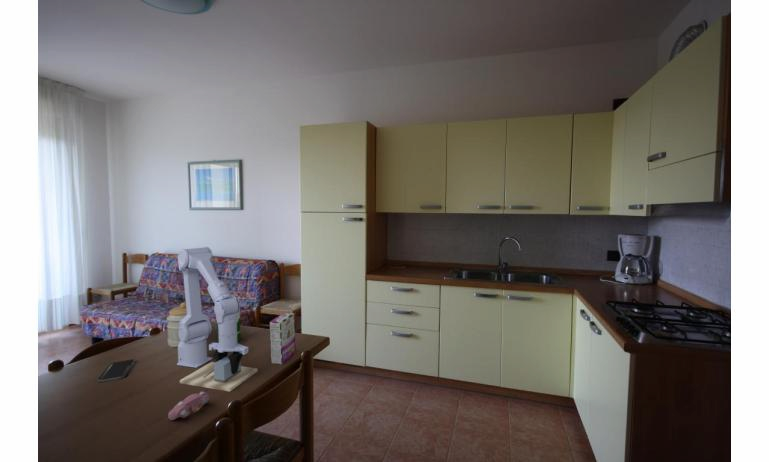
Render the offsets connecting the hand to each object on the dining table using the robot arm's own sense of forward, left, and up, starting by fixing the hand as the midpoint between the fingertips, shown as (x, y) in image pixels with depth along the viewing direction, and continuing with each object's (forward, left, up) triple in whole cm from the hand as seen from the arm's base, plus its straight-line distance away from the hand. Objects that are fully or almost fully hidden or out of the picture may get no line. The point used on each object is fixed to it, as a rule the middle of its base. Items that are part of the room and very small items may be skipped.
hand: (229, 371), depth 115 cm
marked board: (-4, 0, -2) cm, 5 cm away
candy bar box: (+9, +19, -3) cm, 21 cm away
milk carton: (-23, +27, -2) cm, 35 cm away
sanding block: (0, -1, -1) cm, 1 cm away
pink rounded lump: (+3, -20, -3) cm, 20 cm away
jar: (-42, +22, -3) cm, 47 cm away
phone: (-43, -6, -3) cm, 43 cm away
